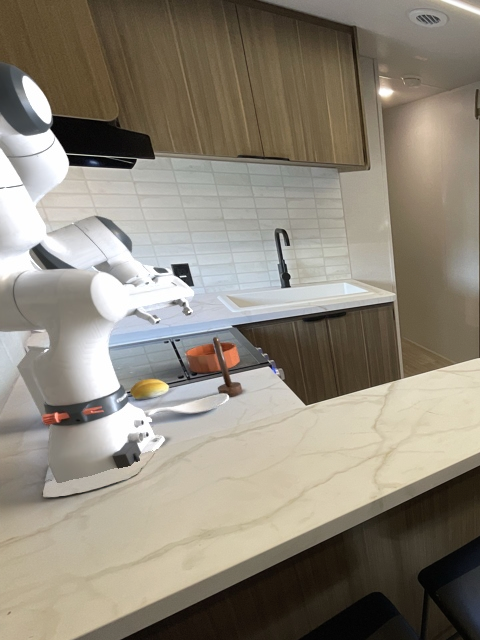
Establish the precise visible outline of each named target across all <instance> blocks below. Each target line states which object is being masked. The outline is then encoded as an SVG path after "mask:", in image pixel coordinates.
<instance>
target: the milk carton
mask: <svg viewBox="0 0 480 640" xmlns="http://www.w3.org/2000/svg"><path fill="white" fill-rule="evenodd" d="M26 347H27V349H28V351H27V352H26V353H25V355H24V356H23V358H22V359H21V360H20V361H19V363H18V364H17V366H16V368H17V370H18V372H19V375H20V376H21V378H22V380H23V383H24V384H25V386H26V388H27V390H28V393H29V394H30V395H31V398H32V400H33V402H34V404H35V406H36V408H37V410H38V412H39V414H40V416H41V417H42V416H43V415H44V414H45V407H44V403H45V400H44V398H43V396H42V394H41V392H40V390H39V388H38V386H37V384H36V382H35V380H34V378H33V376H32V373H31V372H30V366H31V363H32V361H33V360H34V359H35V358H36V357H37V356H38V355H39V354H40V353H42V352H44V351H45V350H47V349H49V346H36V345H27V346H26Z"/></svg>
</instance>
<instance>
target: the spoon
mask: <svg viewBox="0 0 480 640" xmlns="http://www.w3.org/2000/svg"><path fill="white" fill-rule="evenodd" d="M229 399H230V397H229V396H228V395H227V394H219V393H218V394H217V393H216V394H213V395H209V396H205V397H203V398H199V399H196V400H191V401H189V402H185V403H181V404H178V405H174V406H167V407H157V408H149V409H146V410H142V411H143V413H144V415H145V417H146V416H147V417H148V416H152V415H154V414H157V413H177V414H191V415H192V414H199V413H200V414H201V413H205V412H208V411H212V410H214V409H216V408H219V407H220V406H222V405H224V404H225V403H227V402H228V400H229Z"/></svg>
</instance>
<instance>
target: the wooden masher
mask: <svg viewBox="0 0 480 640" xmlns="http://www.w3.org/2000/svg"><path fill="white" fill-rule="evenodd" d="M211 341H212V344H213V345H214V348H215V352H216V355H217V358H218V362H219V365H220V368H221V371H220V372H221V375H222V378H223V384H220V385H219V386H217V391H218V394H227V395H228V396H229V398H233V397H236V396H240V395H241V394H243V388H242V384H241V383H240V382H238V381H232V379H231V375H230V372H229V368H227V365H226V361H225V358H224V354H223V351H222V347H221V344H220V343H221V341H220V338H219V337H217V336H214V337H212V339H211Z"/></svg>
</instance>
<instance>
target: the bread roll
mask: <svg viewBox="0 0 480 640" xmlns="http://www.w3.org/2000/svg"><path fill="white" fill-rule="evenodd" d="M169 390H170V386H169V385H168V384H167V383H165V381H162V380H161V379H157V378H145V379H142V380H139V381H137V382H136V383H134V384H133V385H132V387H131V388H130V392H129V393H130V394H131V396H132V397H133V399H135V400H137V401H142V400H143V401H144V400H150V399H154V398H158V397H160V396H163V395H164V394H166V393H168V391H169Z"/></svg>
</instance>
